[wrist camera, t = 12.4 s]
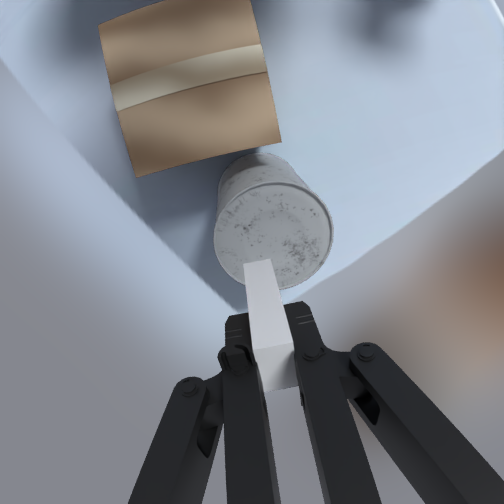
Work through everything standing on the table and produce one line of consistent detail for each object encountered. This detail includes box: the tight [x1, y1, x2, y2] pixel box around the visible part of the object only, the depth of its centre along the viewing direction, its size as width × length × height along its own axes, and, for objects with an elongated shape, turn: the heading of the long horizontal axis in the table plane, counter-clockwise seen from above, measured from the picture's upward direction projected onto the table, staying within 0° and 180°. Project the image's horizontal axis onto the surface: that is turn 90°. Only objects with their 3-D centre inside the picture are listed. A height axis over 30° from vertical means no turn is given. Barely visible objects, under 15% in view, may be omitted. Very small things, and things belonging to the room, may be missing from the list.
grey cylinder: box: [213, 153, 334, 290], centre depth 29 cm, size 10×10×12 cm
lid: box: [98, 0, 282, 178], centre depth 21 cm, size 14×12×1 cm
